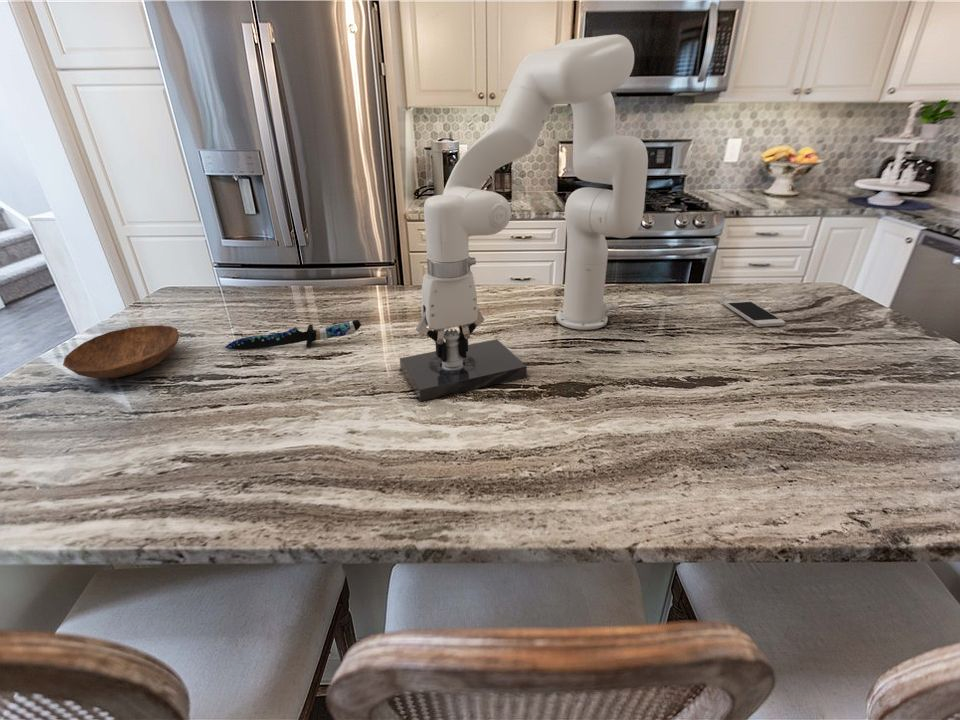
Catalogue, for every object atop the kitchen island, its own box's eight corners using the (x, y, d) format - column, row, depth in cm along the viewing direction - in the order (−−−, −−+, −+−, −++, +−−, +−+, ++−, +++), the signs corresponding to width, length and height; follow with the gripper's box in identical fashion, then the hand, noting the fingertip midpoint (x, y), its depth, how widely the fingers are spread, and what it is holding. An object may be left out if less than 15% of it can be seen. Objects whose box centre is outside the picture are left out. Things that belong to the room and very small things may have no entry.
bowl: (198, 341, 117) (192, 321, 115) (161, 387, 98) (153, 365, 95) (106, 348, 114) (98, 328, 112) (50, 397, 95) (39, 374, 92)
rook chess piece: (461, 374, 97) (459, 337, 94) (438, 372, 98) (436, 335, 94) (466, 363, 101) (465, 327, 98) (444, 362, 102) (443, 326, 98)
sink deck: (497, 349, 110) (497, 339, 109) (526, 377, 99) (526, 366, 98) (400, 368, 103) (399, 358, 102) (420, 401, 91) (419, 390, 90)
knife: (364, 335, 115) (359, 317, 113) (362, 340, 112) (357, 322, 110) (234, 352, 115) (227, 335, 113) (228, 358, 113) (221, 340, 111)
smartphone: (757, 327, 119) (758, 323, 118) (722, 304, 132) (723, 300, 132) (785, 325, 119) (786, 321, 119) (747, 302, 133) (748, 299, 133)
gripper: (482, 256, 96) (483, 342, 104) (398, 267, 90) (406, 357, 99) (498, 266, 90) (498, 357, 98) (409, 279, 84) (417, 374, 93)
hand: (452, 356), depth 98 cm, fingers closed on rook chess piece, 3 cm apart
